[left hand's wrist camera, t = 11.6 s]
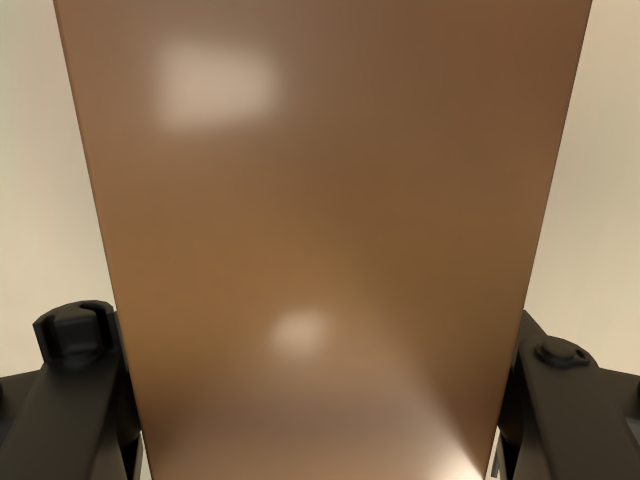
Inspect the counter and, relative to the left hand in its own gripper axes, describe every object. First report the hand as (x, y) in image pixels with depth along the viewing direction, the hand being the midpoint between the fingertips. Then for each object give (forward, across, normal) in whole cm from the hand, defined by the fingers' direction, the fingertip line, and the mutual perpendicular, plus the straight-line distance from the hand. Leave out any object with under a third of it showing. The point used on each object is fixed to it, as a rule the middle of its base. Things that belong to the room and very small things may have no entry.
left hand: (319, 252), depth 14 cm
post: (+1, 0, -33) cm, 33 cm away
